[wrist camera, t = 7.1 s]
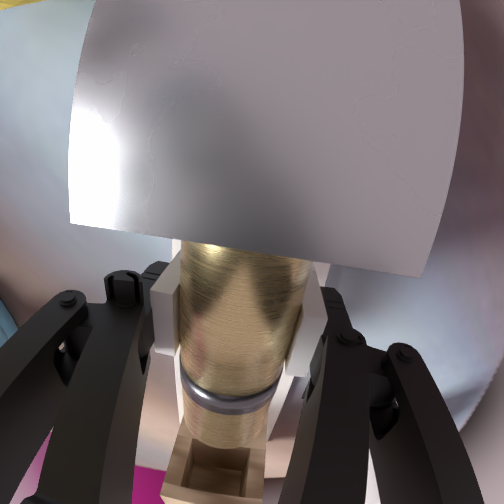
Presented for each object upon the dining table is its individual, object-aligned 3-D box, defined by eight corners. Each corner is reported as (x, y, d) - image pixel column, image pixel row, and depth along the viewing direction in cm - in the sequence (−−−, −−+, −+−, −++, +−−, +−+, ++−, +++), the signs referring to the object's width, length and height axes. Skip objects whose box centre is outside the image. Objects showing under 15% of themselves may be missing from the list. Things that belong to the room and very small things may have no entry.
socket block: (191, 428, 25) (170, 510, 15) (190, 392, 22) (159, 495, 12) (256, 439, 25) (247, 524, 15) (268, 405, 22) (261, 512, 12)
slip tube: (238, -34, 6) (221, -94, 2) (344, -20, 6) (372, -75, 2) (192, 379, 14) (174, 439, 10) (265, 392, 14) (261, 454, 10)
